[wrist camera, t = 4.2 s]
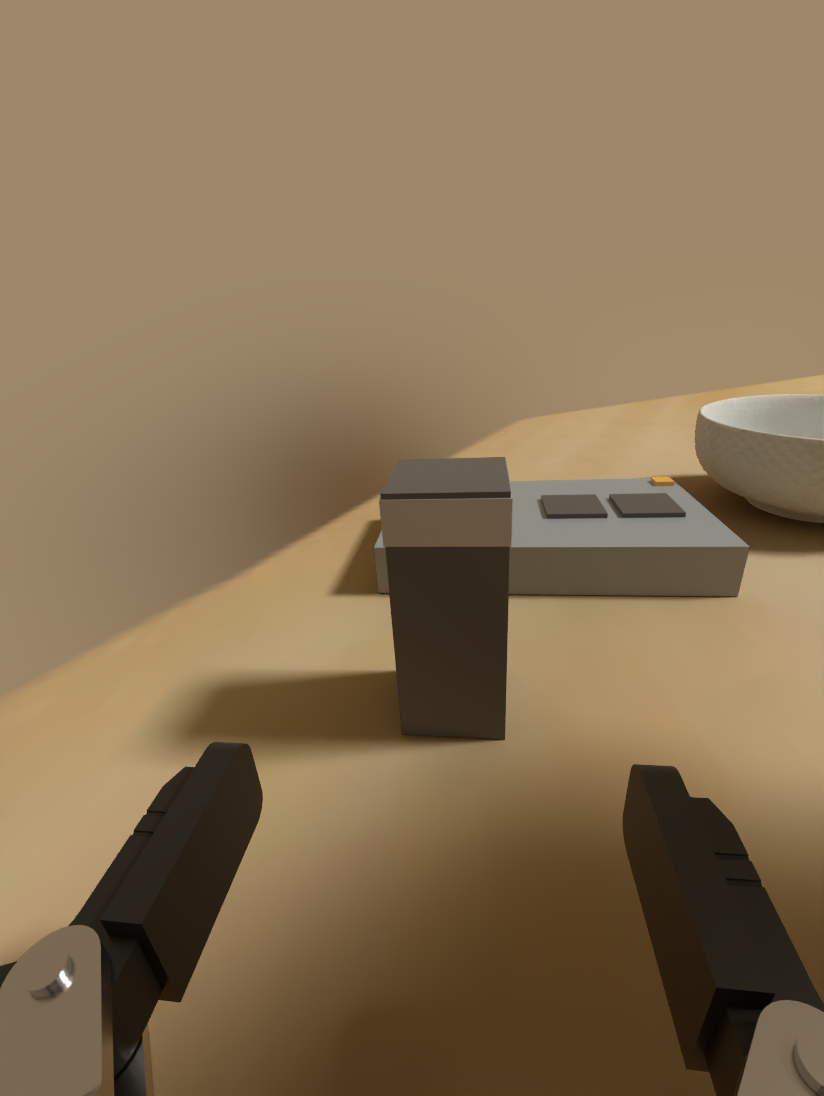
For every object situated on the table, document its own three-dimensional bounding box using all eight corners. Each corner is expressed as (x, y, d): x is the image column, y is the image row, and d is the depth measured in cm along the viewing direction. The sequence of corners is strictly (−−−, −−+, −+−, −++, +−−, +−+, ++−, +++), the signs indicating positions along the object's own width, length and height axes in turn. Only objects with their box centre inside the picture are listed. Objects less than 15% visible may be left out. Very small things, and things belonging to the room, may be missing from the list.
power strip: (664, 515, 38) (671, 474, 37) (737, 596, 27) (751, 541, 26) (405, 518, 41) (402, 479, 39) (378, 593, 30) (373, 542, 29)
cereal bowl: (701, 540, 34) (722, 437, 31) (671, 471, 48) (684, 395, 45) (1035, 564, 29) (1099, 441, 26) (891, 477, 43) (922, 392, 40)
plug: (501, 671, 23) (506, 456, 19) (506, 740, 19) (512, 491, 15) (413, 668, 23) (397, 459, 19) (400, 735, 20) (378, 494, 16)
